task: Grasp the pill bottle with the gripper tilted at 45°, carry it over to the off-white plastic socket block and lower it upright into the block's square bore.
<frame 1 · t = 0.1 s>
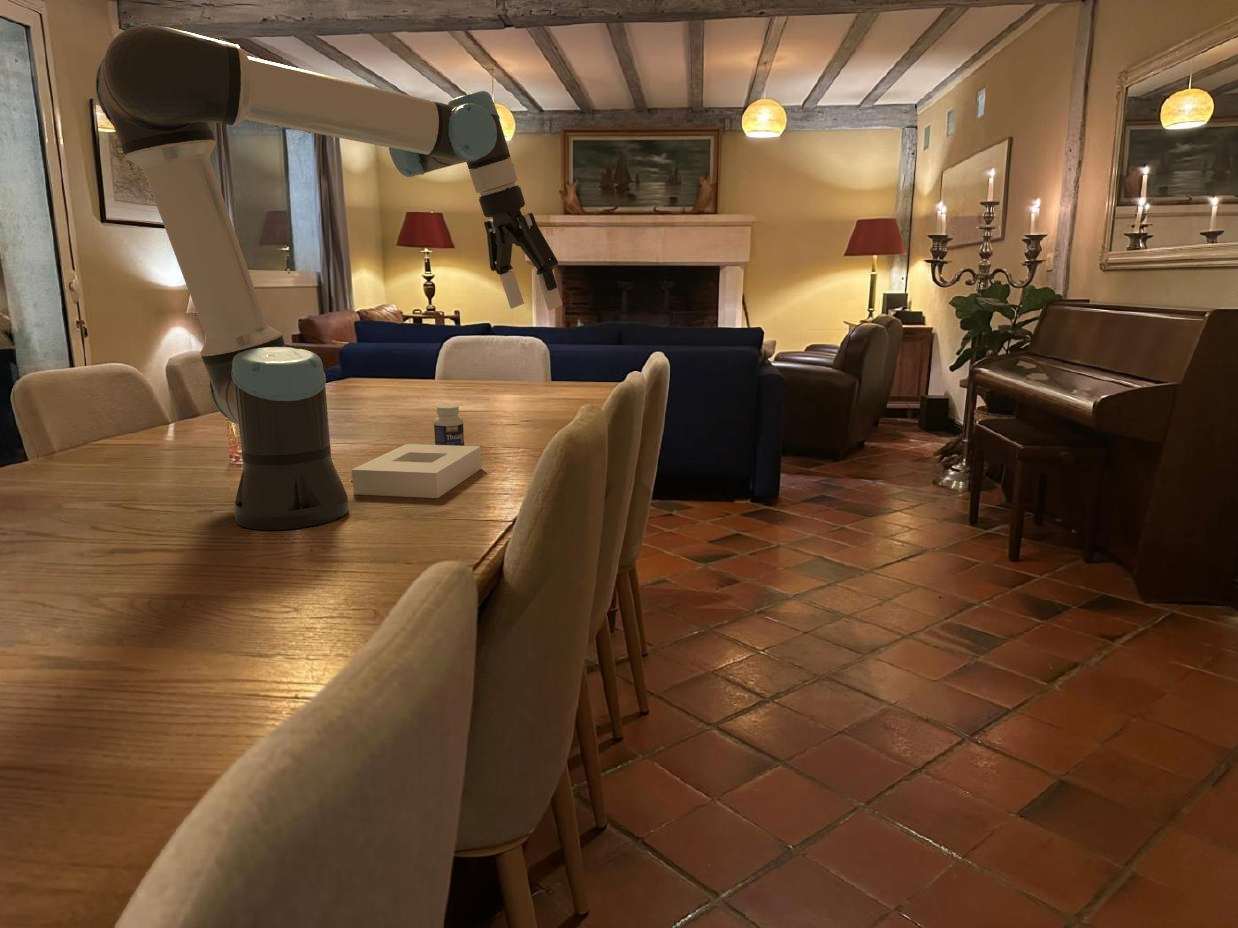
hand: (535, 307, 149), 28 cm above the table, tool tilted 20°, fingers open, 13 cm apart
socket block: (421, 480, 136), on the table
pill bottle: (450, 458, 154), on the table
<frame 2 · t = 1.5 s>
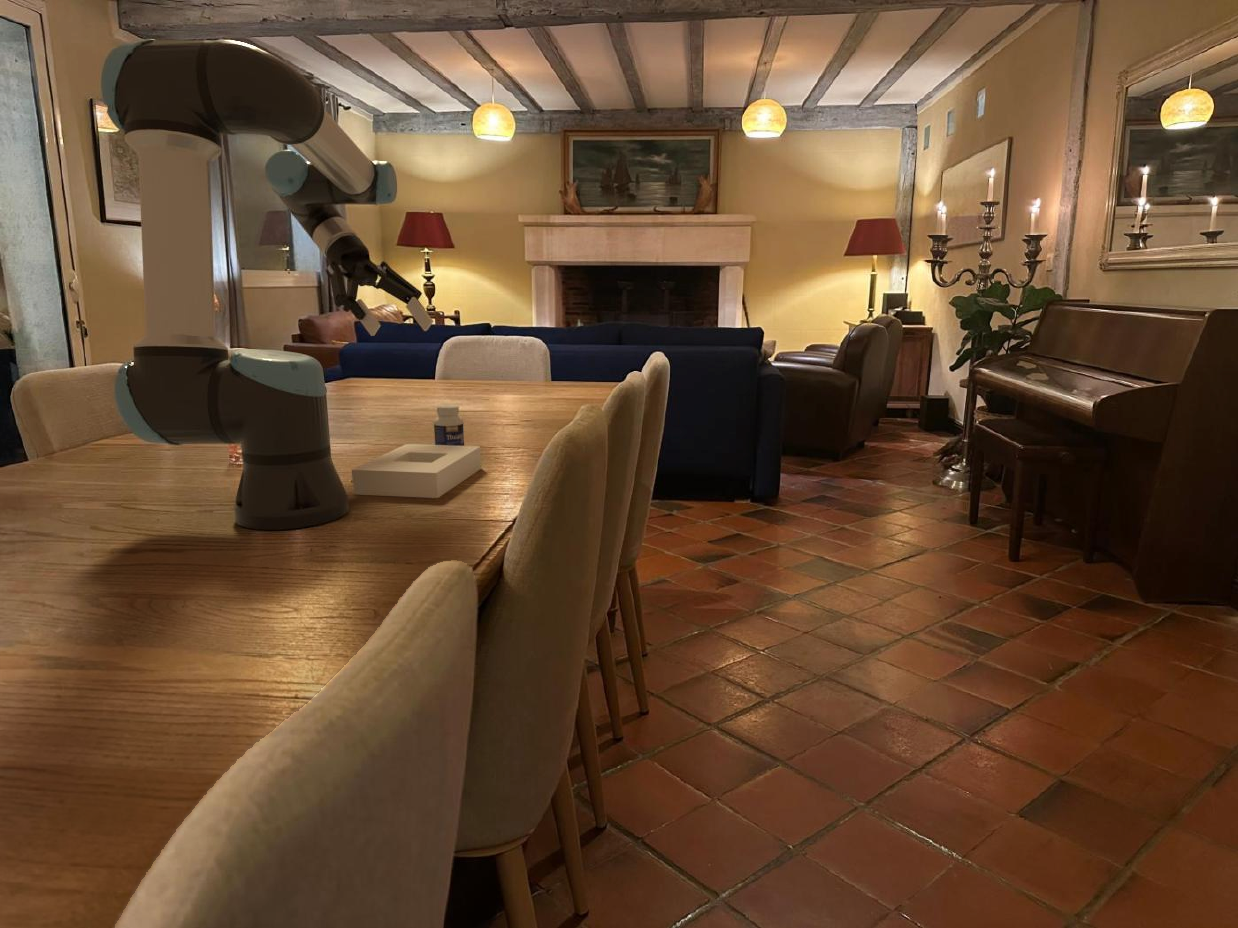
hand: (403, 328, 153), 24 cm above the table, tool tilted 45°, fingers open, 13 cm apart
nothing on the table moved.
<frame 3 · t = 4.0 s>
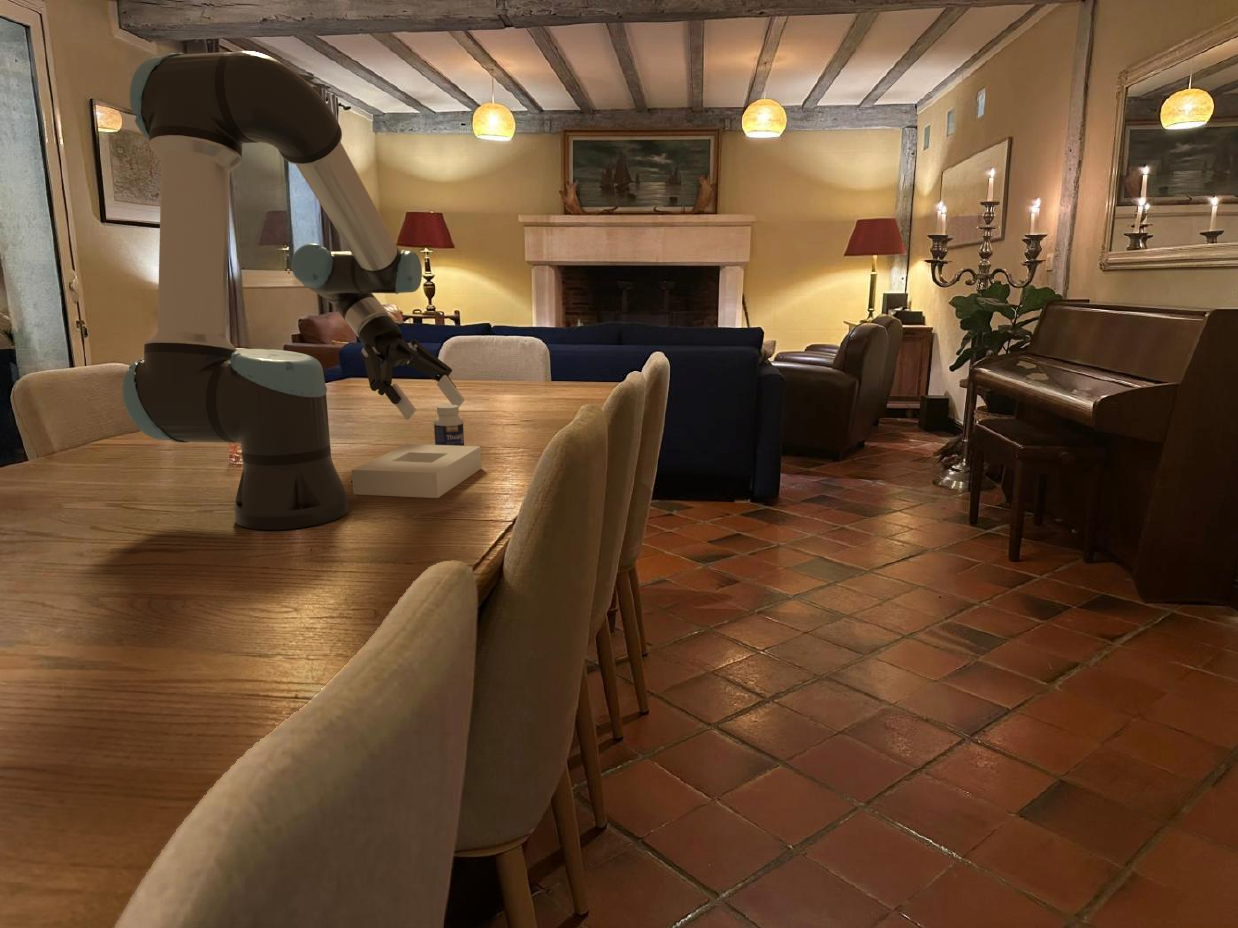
hand: (436, 409, 155), 9 cm above the table, tool tilted 45°, fingers open, 13 cm apart
nothing on the table moved.
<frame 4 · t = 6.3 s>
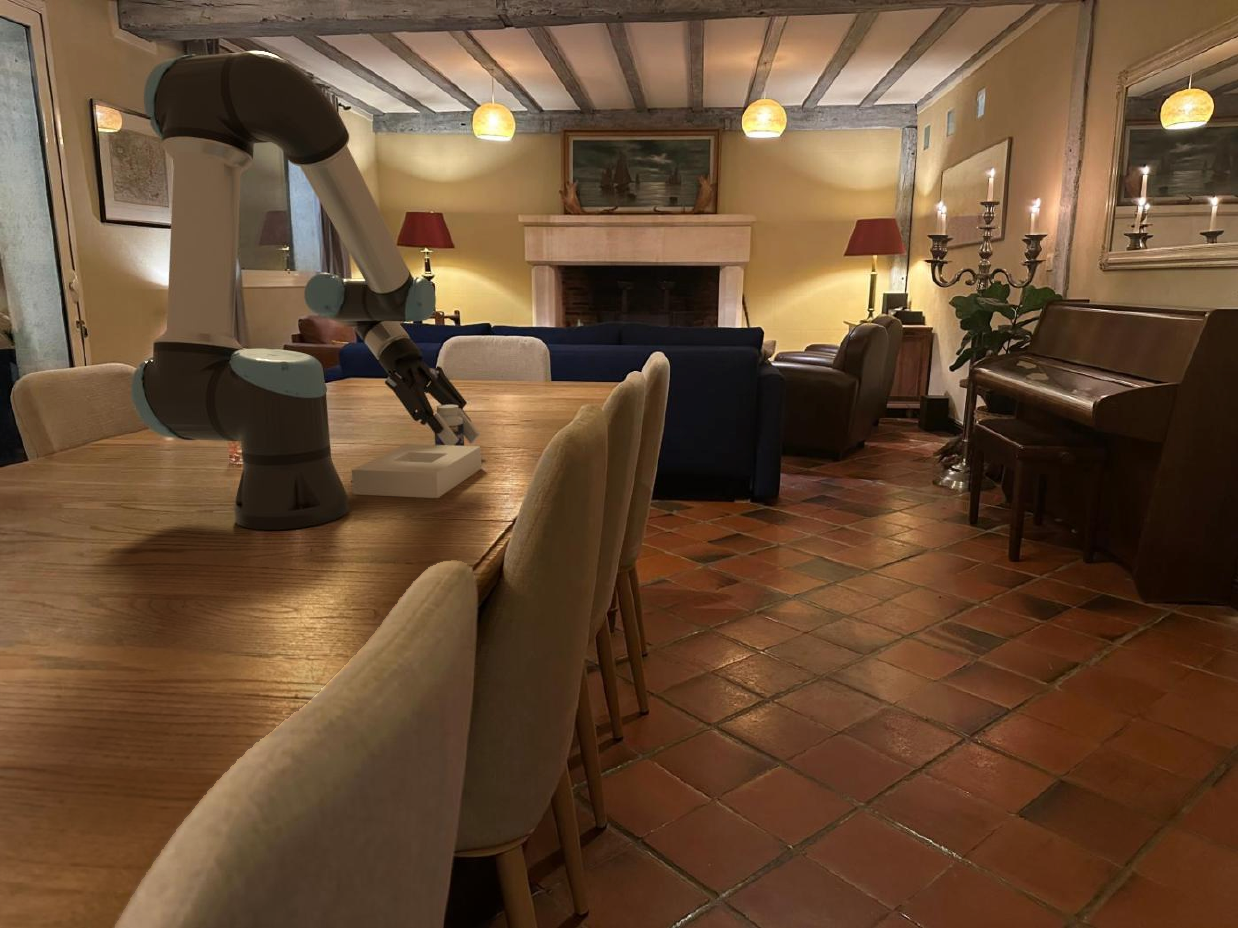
hand: (464, 441, 151), 3 cm above the table, tool tilted 45°, fingers closed on pill bottle, 5 cm apart
pill bottle: (450, 458, 154), on the table, touching gripper
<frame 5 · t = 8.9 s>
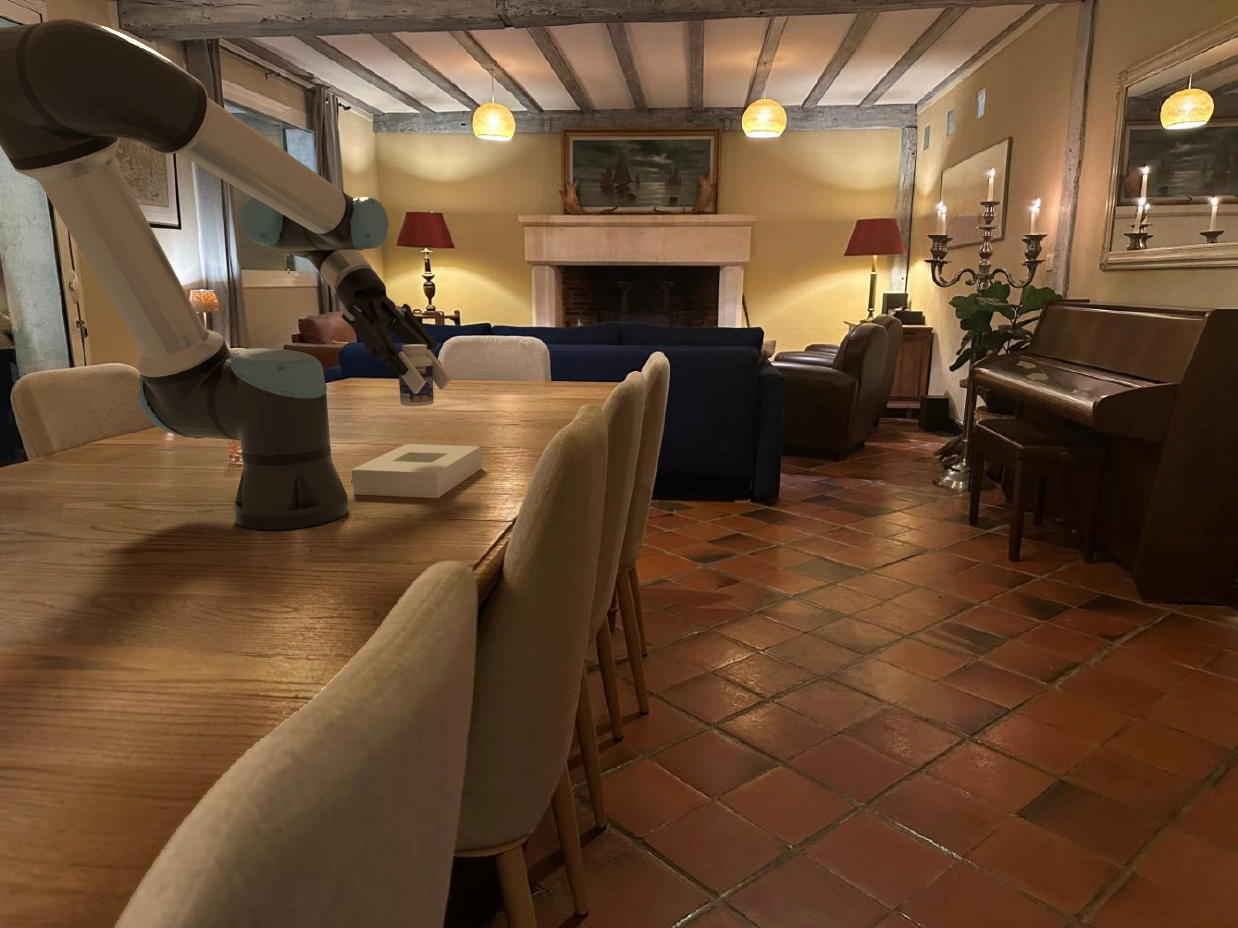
hand: (433, 385, 131), 16 cm above the table, tool tilted 45°, fingers closed on pill bottle, 5 cm apart
pill bottle: (417, 405, 134), point 13 cm above the table, touching gripper
when the fingers open (5 cm above the table, at t = 11.5 s): pill bottle drops 2 cm, resting on socket block.
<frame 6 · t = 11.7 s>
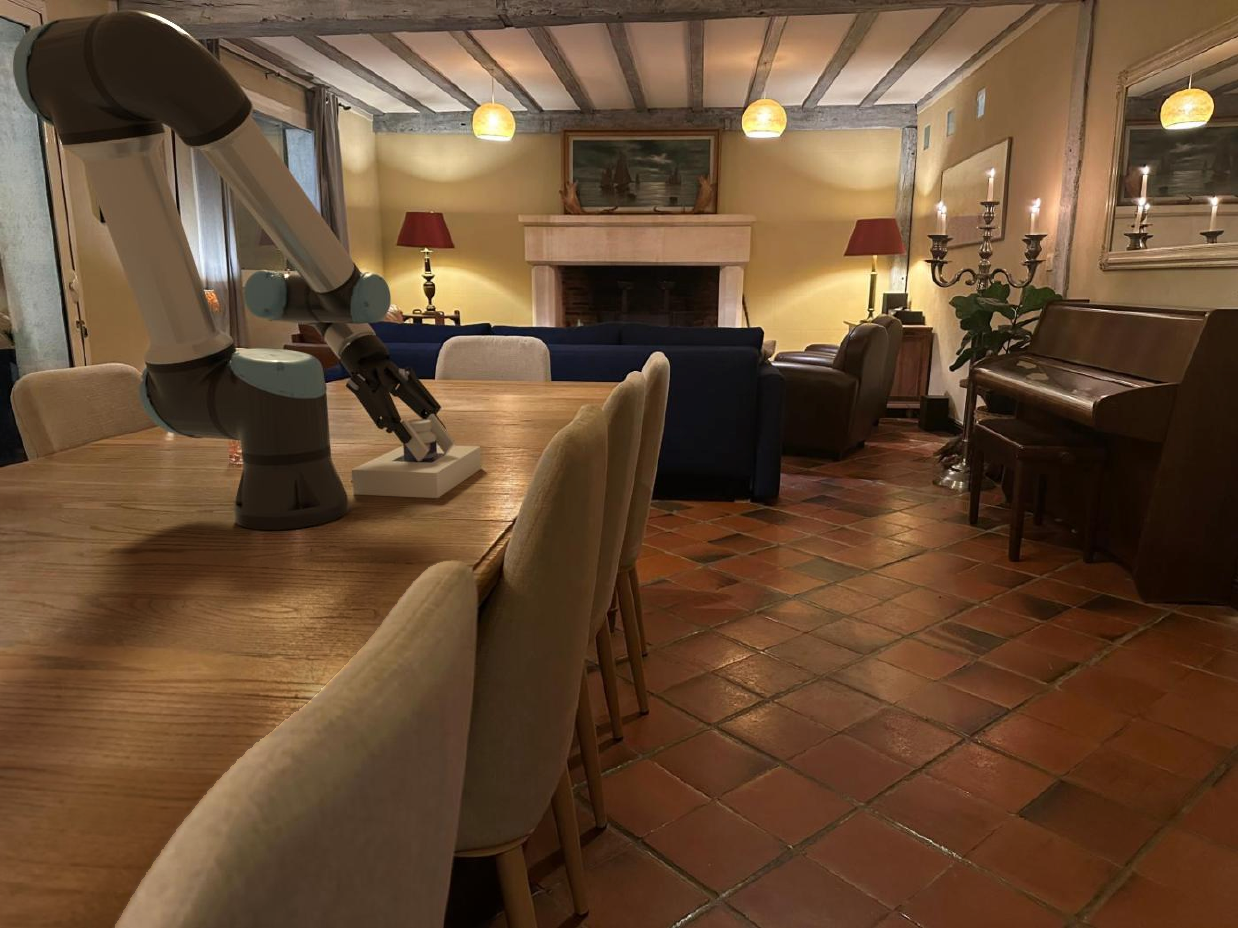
hand: (437, 451, 133), 5 cm above the table, tool tilted 45°, fingers open, 6 cm apart
pill bottle: (422, 479, 136), resting on socket block
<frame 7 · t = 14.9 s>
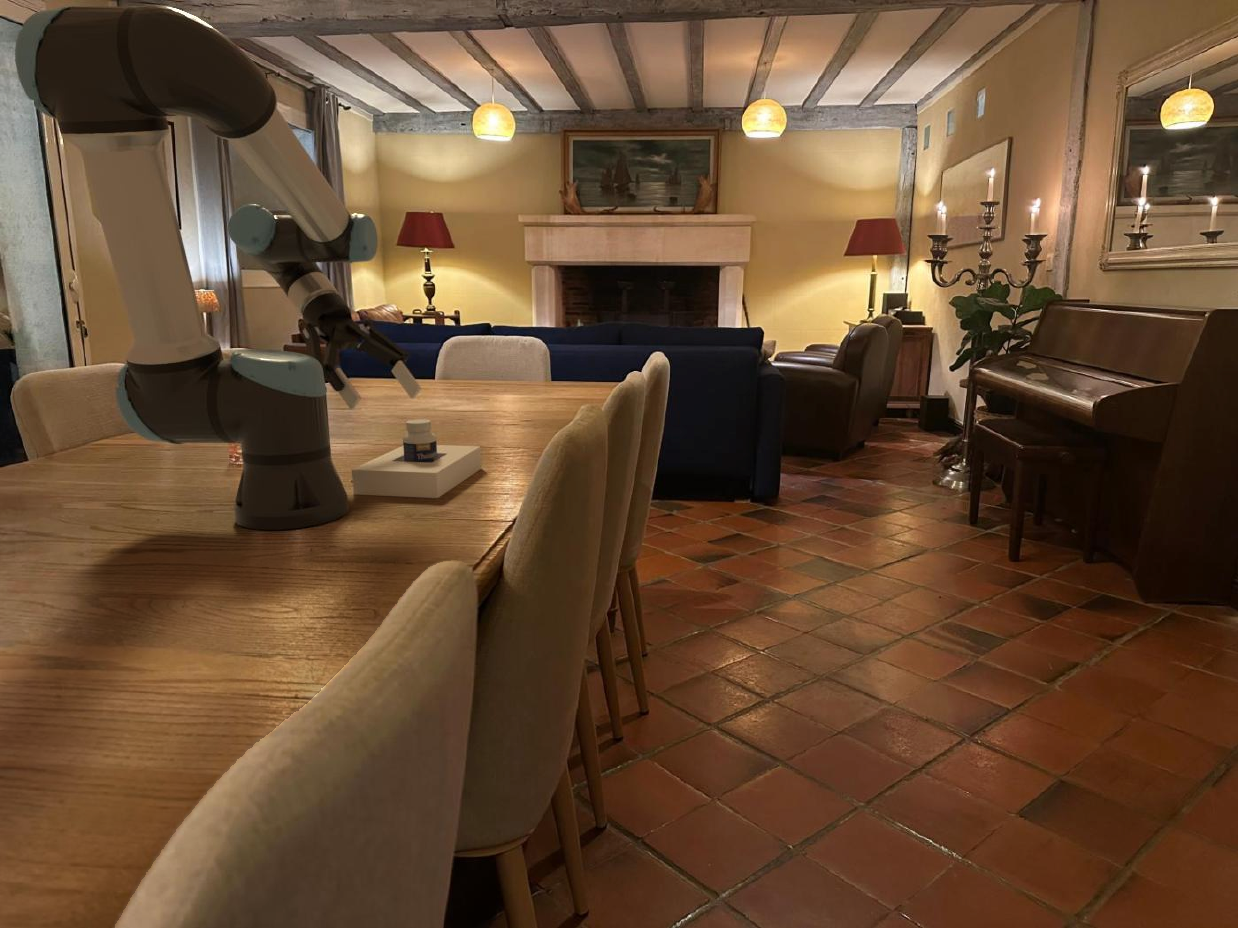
hand: (387, 398, 137), 13 cm above the table, tool tilted 45°, fingers open, 13 cm apart
nothing on the table moved.
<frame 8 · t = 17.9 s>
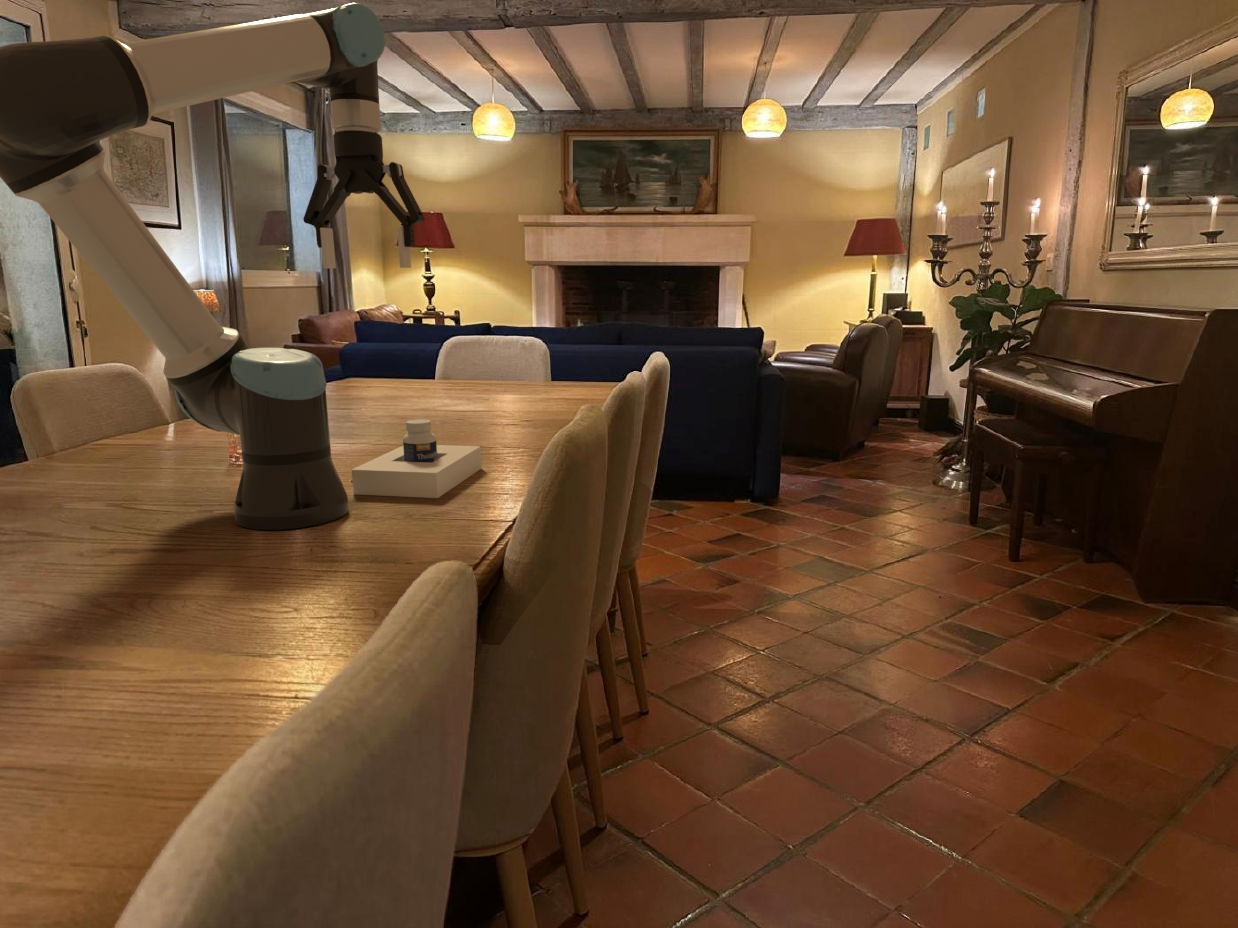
hand: (367, 268, 136), 35 cm above the table, tool pointing down, fingers open, 13 cm apart
nothing on the table moved.
at the end: pill bottle 0.2 cm off-centre on the socket block, point 0.1 cm above the socket block's base; pill bottle tilted 0°; the gripper is holding nothing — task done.
